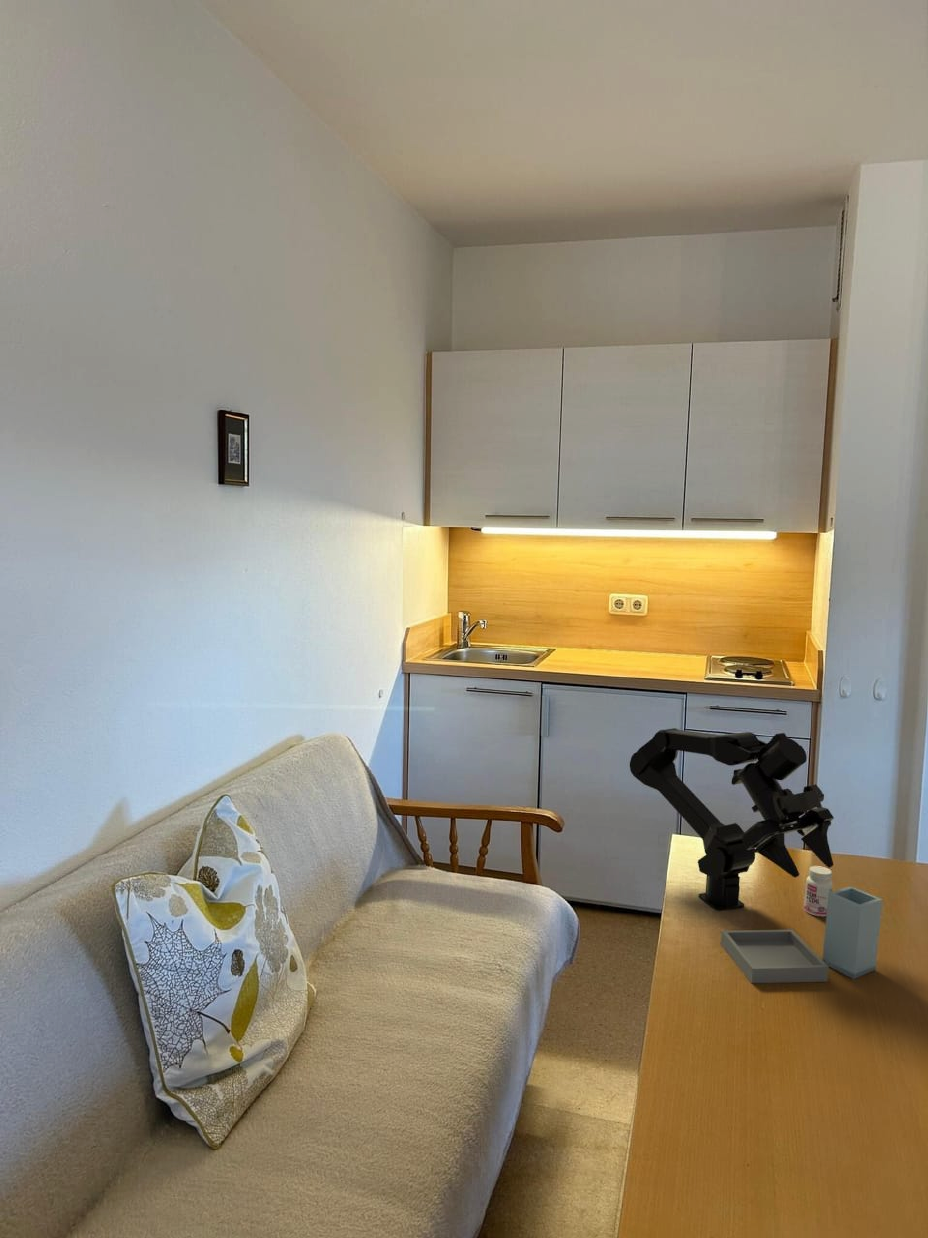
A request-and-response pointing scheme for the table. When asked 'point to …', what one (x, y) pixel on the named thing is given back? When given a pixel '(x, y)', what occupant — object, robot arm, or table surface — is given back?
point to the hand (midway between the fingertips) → (814, 871)
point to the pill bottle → (817, 890)
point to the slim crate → (852, 931)
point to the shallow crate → (774, 956)
